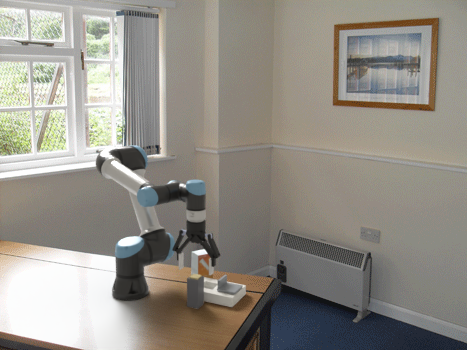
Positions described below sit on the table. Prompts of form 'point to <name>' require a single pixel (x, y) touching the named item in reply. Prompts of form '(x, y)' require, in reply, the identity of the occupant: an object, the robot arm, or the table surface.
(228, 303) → the socket
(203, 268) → the small box
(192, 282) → the plug
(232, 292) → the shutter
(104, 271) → the table surface
